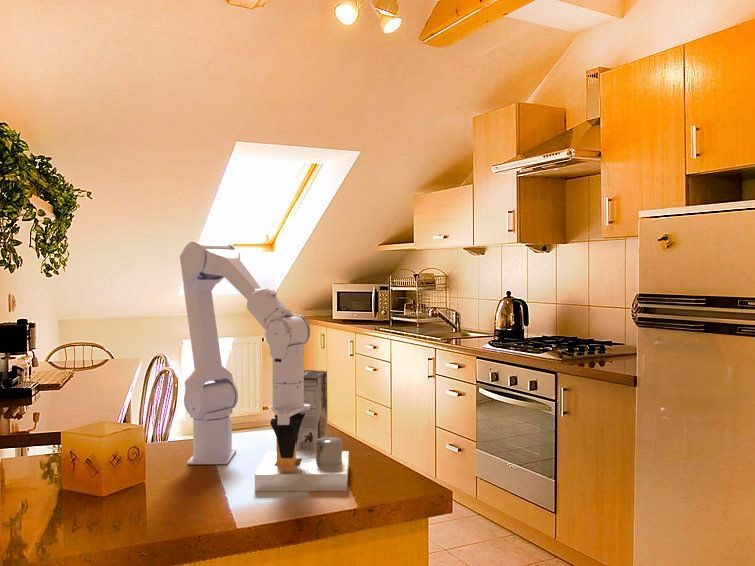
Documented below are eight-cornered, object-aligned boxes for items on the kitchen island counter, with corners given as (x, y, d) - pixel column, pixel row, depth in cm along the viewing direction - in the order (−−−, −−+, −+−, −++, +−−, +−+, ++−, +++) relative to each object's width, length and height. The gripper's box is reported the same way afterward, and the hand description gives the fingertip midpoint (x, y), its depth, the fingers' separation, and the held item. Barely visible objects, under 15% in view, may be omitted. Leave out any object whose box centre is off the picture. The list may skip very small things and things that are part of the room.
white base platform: (267, 466, 126) (267, 431, 126) (348, 466, 127) (348, 430, 127) (254, 491, 112) (254, 451, 112) (346, 490, 113) (346, 451, 113)
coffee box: (300, 440, 146) (300, 369, 145) (328, 441, 145) (328, 370, 144) (289, 452, 136) (288, 376, 136) (318, 453, 136) (318, 376, 135)
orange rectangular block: (278, 463, 121) (278, 426, 121) (296, 463, 121) (295, 426, 121) (276, 469, 118) (276, 431, 118) (294, 469, 118) (294, 431, 118)
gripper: (306, 388, 112) (306, 466, 112) (313, 374, 126) (313, 443, 127) (265, 388, 112) (265, 466, 112) (277, 374, 126) (277, 443, 127)
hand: (288, 454), depth 119 cm, fingers closed on orange rectangular block, 3 cm apart
